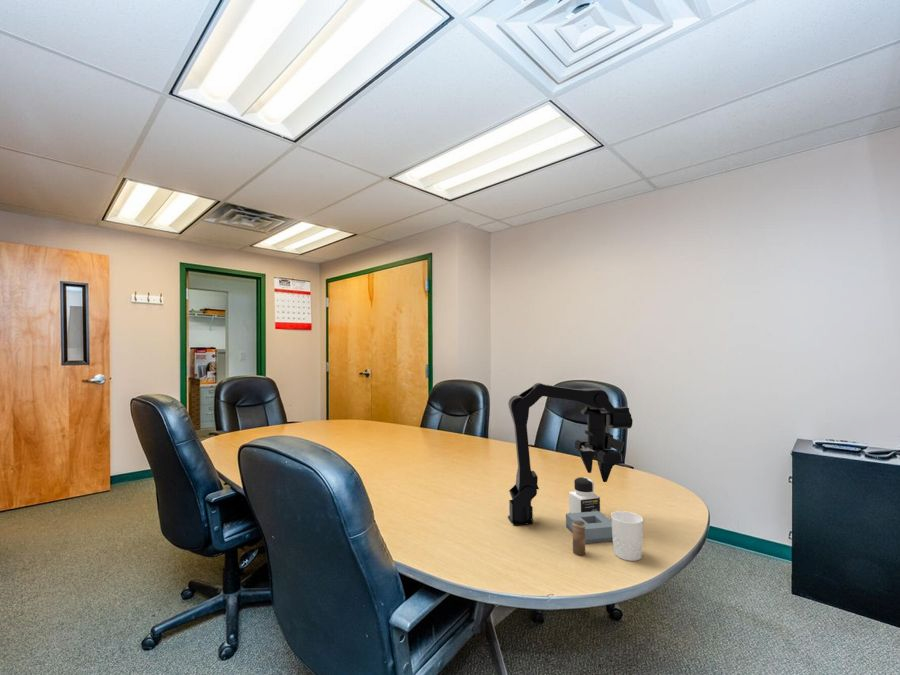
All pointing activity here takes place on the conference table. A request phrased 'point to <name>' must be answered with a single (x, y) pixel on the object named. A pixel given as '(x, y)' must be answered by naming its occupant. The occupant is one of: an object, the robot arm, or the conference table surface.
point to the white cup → (627, 535)
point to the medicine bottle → (583, 497)
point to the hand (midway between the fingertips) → (596, 477)
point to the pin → (578, 537)
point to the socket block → (592, 526)
